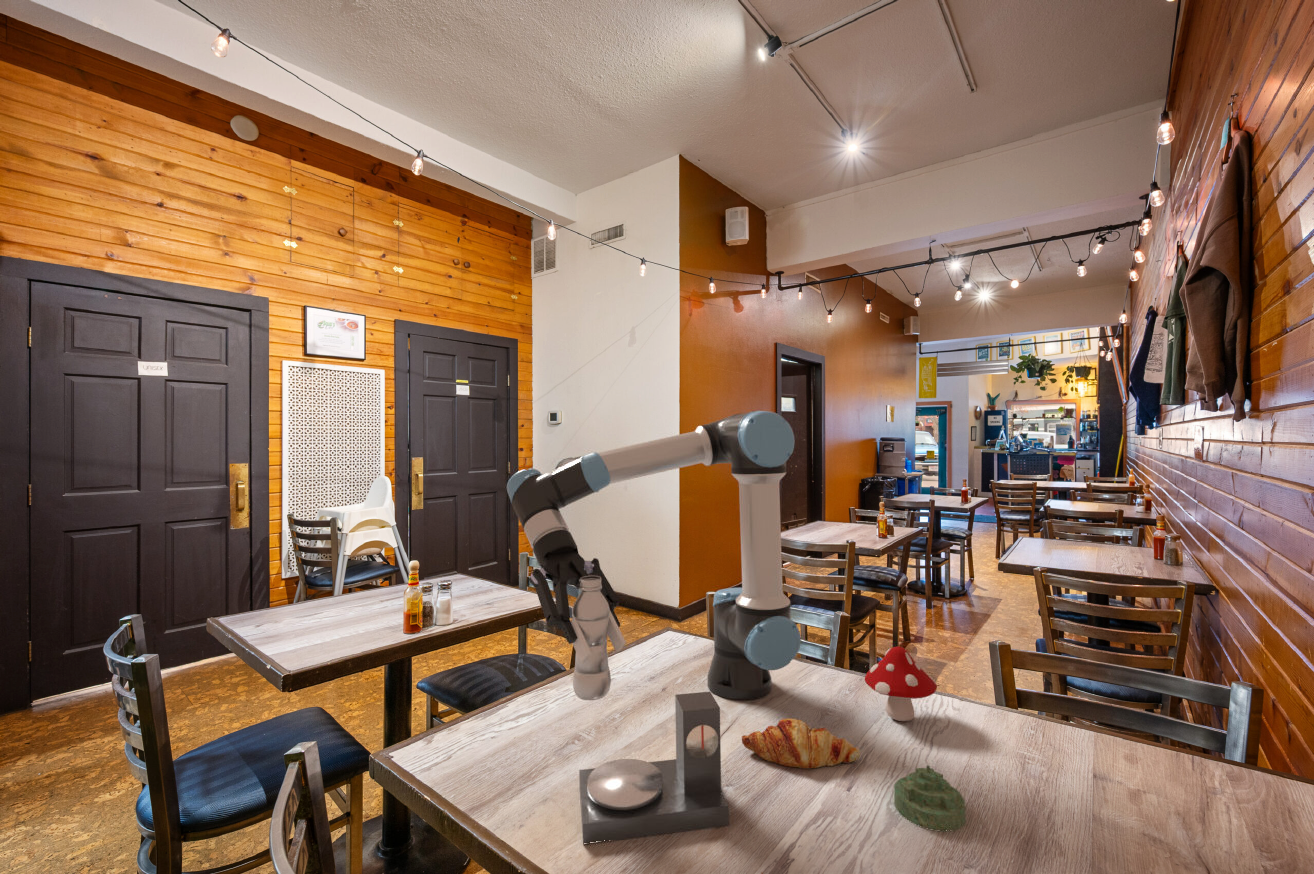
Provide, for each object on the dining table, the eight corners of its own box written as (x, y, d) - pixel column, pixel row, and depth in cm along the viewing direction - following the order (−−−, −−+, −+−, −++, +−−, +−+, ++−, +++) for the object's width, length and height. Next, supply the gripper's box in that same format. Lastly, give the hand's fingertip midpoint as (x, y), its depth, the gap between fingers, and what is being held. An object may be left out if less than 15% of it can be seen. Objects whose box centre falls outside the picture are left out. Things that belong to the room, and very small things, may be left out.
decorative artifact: (971, 807, 90) (905, 784, 97) (970, 762, 90) (904, 742, 97) (957, 841, 83) (886, 814, 89) (955, 793, 83) (885, 768, 89)
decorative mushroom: (927, 705, 125) (926, 636, 125) (948, 737, 111) (946, 660, 111) (860, 701, 127) (858, 633, 127) (872, 732, 113) (870, 657, 114)
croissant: (857, 772, 106) (853, 724, 110) (866, 774, 97) (862, 722, 101) (741, 761, 109) (742, 715, 113) (741, 762, 101) (741, 712, 104)
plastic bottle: (614, 688, 99) (613, 573, 99) (606, 706, 92) (605, 583, 92) (578, 686, 100) (577, 572, 100) (567, 704, 93) (566, 582, 93)
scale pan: (655, 761, 98) (655, 755, 98) (669, 804, 86) (669, 797, 86) (585, 768, 96) (585, 762, 96) (589, 814, 84) (589, 807, 84)
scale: (705, 772, 100) (704, 681, 101) (728, 825, 87) (727, 719, 87) (579, 787, 97) (578, 692, 97) (583, 844, 83) (581, 734, 83)
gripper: (586, 545, 114) (639, 649, 102) (496, 560, 101) (544, 681, 89) (601, 522, 110) (658, 627, 98) (509, 534, 97) (561, 656, 85)
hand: (604, 652), depth 93 cm, fingers closed on plastic bottle, 6 cm apart
